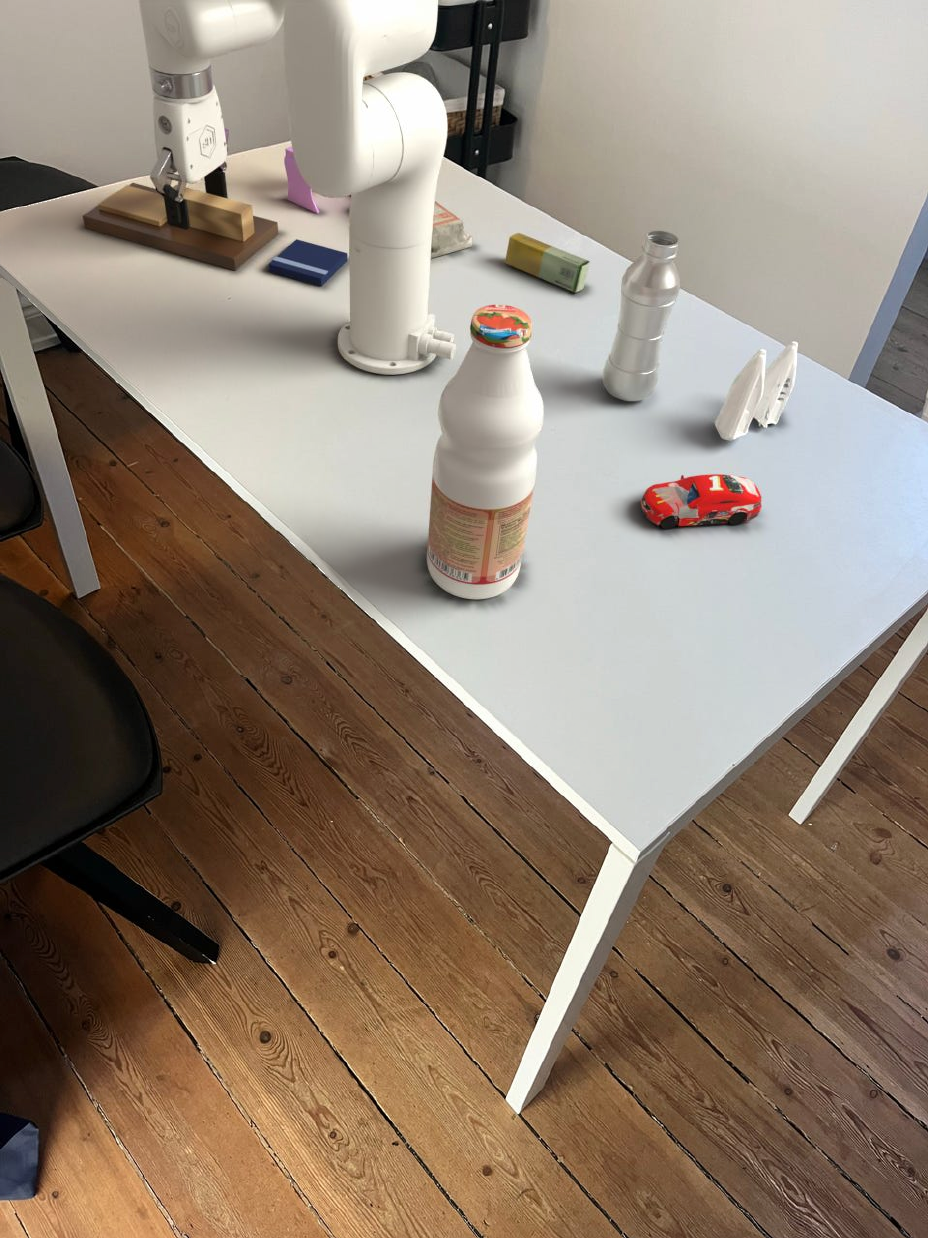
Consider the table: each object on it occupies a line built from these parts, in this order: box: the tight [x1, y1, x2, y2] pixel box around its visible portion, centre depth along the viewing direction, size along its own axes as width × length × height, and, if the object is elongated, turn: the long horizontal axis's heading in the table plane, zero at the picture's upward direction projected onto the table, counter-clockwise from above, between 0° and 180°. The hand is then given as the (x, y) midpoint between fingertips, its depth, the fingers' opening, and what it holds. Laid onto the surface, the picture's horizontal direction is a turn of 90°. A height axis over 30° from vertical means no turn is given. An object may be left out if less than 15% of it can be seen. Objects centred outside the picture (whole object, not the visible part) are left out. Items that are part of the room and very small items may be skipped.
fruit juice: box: [426, 304, 545, 600], centre depth 88 cm, size 9×9×28 cm
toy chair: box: [283, 145, 352, 214], centre depth 144 cm, size 8×9×15 cm
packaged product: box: [431, 200, 473, 259], centre depth 143 cm, size 18×5×10 cm
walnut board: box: [82, 182, 279, 272], centre depth 139 cm, size 24×12×2 cm, turn 69°
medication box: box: [504, 232, 591, 294], centre depth 137 cm, size 12×3×4 cm, turn 57°
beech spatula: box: [97, 184, 254, 242], centre depth 137 cm, size 22×7×4 cm, turn 69°
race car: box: [640, 473, 762, 530], centre depth 106 cm, size 13×5×4 cm, turn 98°
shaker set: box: [714, 341, 799, 441], centre depth 114 cm, size 12×4×11 cm, turn 130°
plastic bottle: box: [602, 229, 681, 402], centre depth 114 cm, size 6×7×20 cm
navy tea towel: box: [267, 239, 348, 287], centre depth 135 cm, size 8×8×1 cm
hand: (198, 212), depth 136 cm, fingers open, 9 cm apart
